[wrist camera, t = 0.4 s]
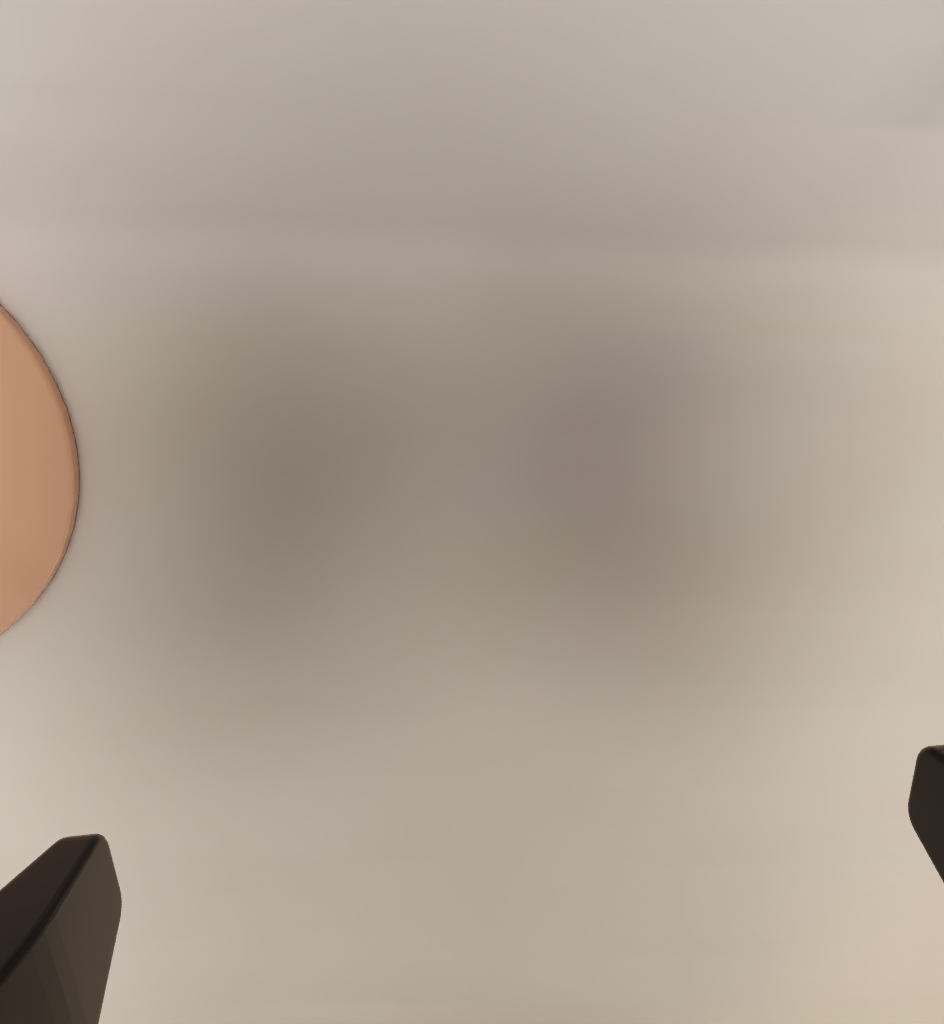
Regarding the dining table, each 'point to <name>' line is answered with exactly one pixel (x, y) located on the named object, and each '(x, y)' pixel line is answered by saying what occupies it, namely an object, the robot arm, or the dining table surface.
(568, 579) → the dining table surface
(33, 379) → the coaster
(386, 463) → the dining table surface
